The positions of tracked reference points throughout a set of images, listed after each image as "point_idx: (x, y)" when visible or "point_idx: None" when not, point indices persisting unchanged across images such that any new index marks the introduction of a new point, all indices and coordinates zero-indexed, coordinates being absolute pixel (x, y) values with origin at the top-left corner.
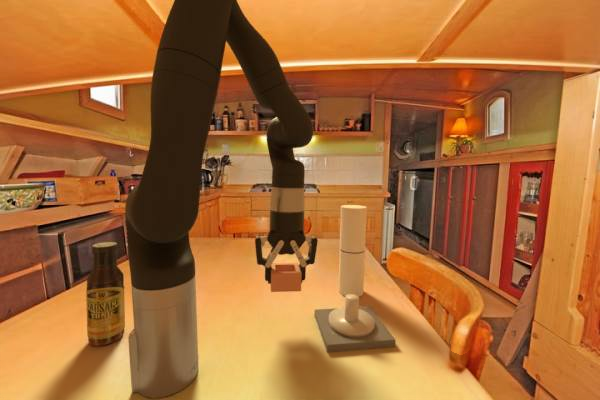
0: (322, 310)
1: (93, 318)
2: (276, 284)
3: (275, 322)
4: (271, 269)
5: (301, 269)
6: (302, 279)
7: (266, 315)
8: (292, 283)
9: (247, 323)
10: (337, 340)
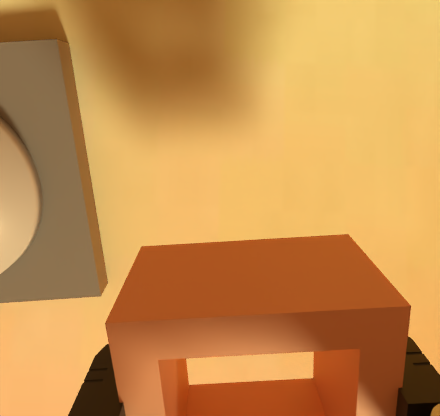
0: (65, 288)
1: None
2: (325, 260)
3: None
4: (400, 392)
5: (107, 403)
6: None
7: None
8: (199, 268)
9: (377, 241)
10: (9, 67)
